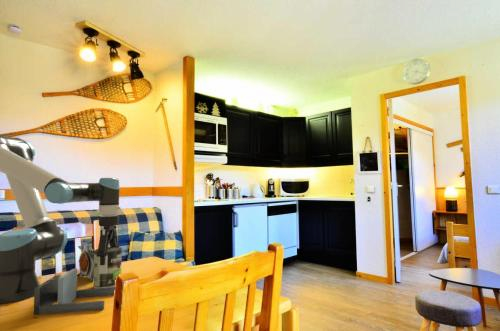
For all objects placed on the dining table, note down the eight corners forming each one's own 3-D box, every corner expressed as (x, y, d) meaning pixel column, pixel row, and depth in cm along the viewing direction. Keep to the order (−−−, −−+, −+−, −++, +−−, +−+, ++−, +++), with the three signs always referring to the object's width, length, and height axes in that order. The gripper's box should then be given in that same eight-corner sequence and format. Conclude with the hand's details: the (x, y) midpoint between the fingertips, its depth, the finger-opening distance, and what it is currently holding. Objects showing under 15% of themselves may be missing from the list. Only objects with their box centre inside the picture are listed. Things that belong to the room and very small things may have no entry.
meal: (72, 276, 130) (73, 246, 131) (82, 274, 134) (83, 245, 135) (88, 283, 121) (88, 250, 122) (98, 280, 124) (99, 249, 125)
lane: (33, 315, 91) (34, 288, 91) (55, 298, 104) (55, 275, 105) (103, 309, 94) (103, 284, 95) (115, 294, 108) (115, 271, 108)
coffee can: (126, 281, 123) (127, 247, 124) (110, 290, 113) (111, 252, 114) (104, 280, 125) (105, 246, 126) (86, 288, 115) (87, 251, 116)
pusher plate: (57, 310, 93) (58, 278, 94) (71, 297, 104) (72, 268, 105) (62, 310, 93) (63, 277, 94) (76, 297, 104) (77, 268, 105)
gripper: (110, 218, 109) (109, 276, 107) (126, 212, 134) (125, 260, 132) (88, 218, 108) (86, 278, 106) (108, 213, 132) (107, 261, 131)
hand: (108, 268), depth 119 cm, fingers open, 13 cm apart
